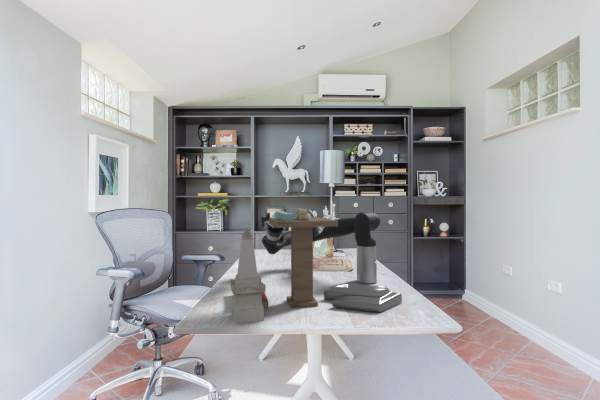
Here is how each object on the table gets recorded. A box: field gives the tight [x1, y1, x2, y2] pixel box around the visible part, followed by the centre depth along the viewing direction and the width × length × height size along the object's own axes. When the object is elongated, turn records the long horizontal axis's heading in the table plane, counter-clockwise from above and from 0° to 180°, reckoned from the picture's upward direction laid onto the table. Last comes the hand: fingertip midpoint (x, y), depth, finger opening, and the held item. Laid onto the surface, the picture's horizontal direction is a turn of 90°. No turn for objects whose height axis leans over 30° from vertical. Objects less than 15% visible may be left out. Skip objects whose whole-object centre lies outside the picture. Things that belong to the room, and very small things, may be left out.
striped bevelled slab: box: [323, 283, 403, 313], centre depth 134 cm, size 28×5×28 cm
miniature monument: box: [230, 228, 266, 325], centre depth 117 cm, size 10×10×30 cm
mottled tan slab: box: [313, 257, 355, 273], centre depth 203 cm, size 28×6×30 cm
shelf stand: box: [270, 208, 338, 309], centre depth 132 cm, size 22×22×36 cm
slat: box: [274, 210, 295, 221], centre depth 137 cm, size 28×3×2 cm, turn 12°
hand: (279, 214), depth 147 cm, fingers open, 8 cm apart
